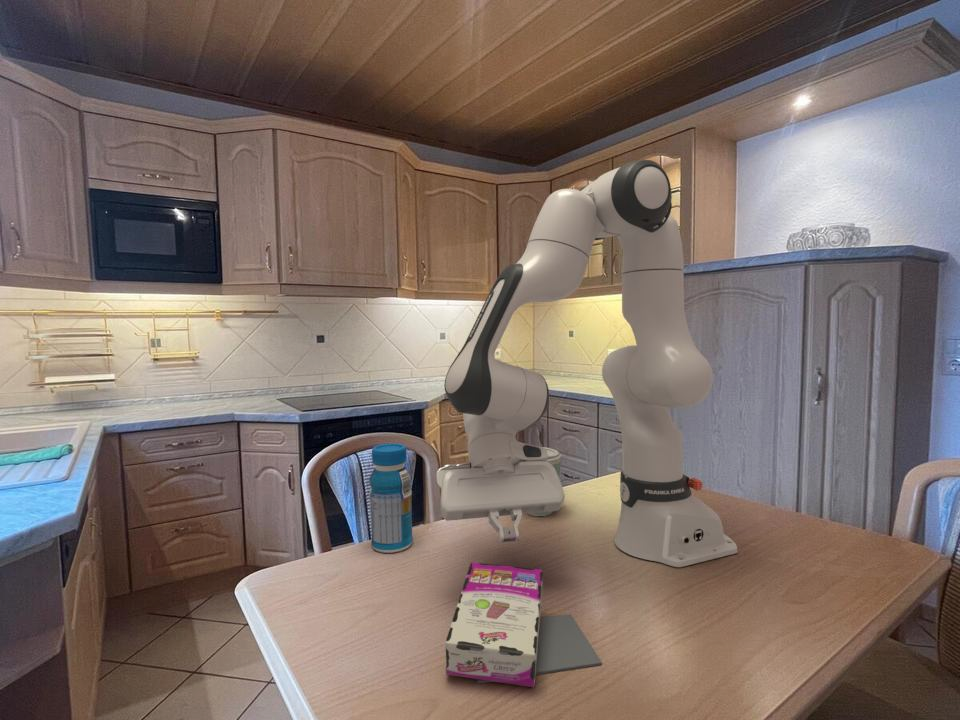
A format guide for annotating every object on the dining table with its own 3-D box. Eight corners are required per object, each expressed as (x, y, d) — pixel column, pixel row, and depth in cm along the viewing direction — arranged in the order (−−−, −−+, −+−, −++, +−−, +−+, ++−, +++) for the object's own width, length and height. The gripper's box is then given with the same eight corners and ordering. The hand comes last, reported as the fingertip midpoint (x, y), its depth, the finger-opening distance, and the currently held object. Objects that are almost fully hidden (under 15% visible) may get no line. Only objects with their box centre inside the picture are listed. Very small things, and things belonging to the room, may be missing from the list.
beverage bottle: (377, 558, 93) (373, 454, 92) (366, 541, 101) (362, 445, 100) (419, 548, 97) (416, 448, 96) (405, 533, 105) (402, 440, 104)
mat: (570, 615, 73) (570, 613, 73) (602, 664, 63) (602, 662, 63) (464, 629, 71) (464, 627, 70) (478, 683, 60) (478, 681, 60)
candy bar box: (470, 589, 76) (443, 676, 61) (470, 560, 75) (442, 641, 59) (543, 598, 74) (534, 690, 58) (544, 568, 73) (535, 654, 57)
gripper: (435, 455, 81) (443, 538, 72) (555, 447, 84) (576, 526, 75) (433, 474, 85) (440, 555, 76) (547, 466, 89) (567, 542, 80)
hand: (509, 540), depth 76 cm, fingers closed
